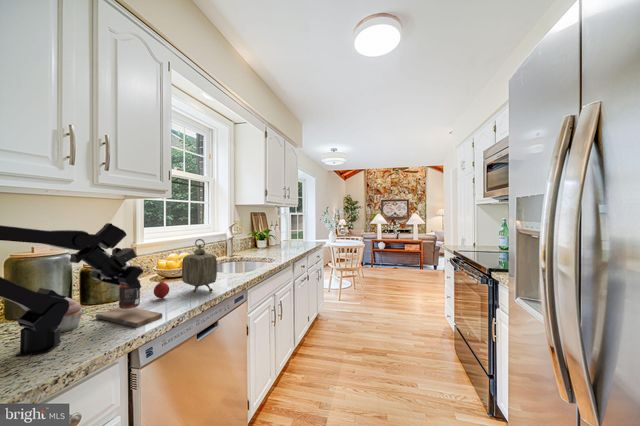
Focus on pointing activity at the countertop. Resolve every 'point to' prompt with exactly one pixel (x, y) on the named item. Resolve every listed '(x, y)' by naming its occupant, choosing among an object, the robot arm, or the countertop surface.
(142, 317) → the brown wooden board
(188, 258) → the tabletop clock
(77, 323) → the cupcake
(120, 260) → the robot arm
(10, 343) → the countertop surface
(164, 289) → the onion
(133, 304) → the supplement bottle
